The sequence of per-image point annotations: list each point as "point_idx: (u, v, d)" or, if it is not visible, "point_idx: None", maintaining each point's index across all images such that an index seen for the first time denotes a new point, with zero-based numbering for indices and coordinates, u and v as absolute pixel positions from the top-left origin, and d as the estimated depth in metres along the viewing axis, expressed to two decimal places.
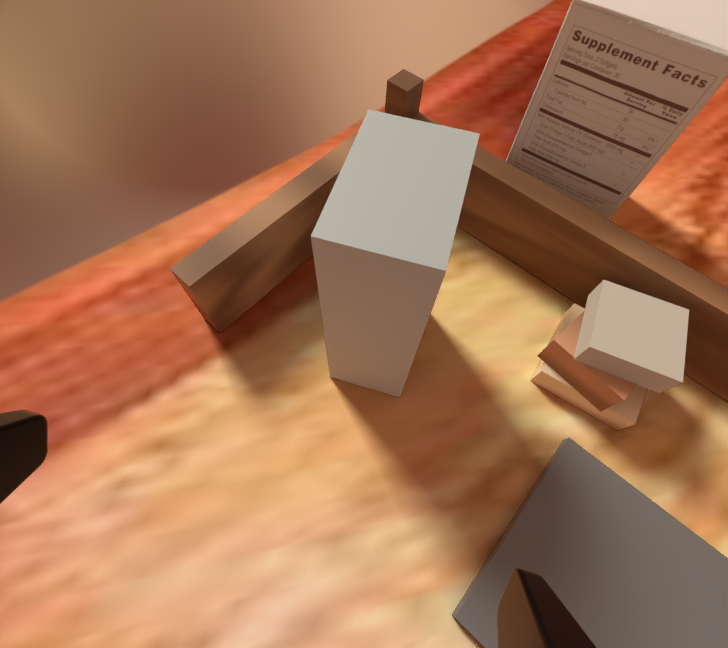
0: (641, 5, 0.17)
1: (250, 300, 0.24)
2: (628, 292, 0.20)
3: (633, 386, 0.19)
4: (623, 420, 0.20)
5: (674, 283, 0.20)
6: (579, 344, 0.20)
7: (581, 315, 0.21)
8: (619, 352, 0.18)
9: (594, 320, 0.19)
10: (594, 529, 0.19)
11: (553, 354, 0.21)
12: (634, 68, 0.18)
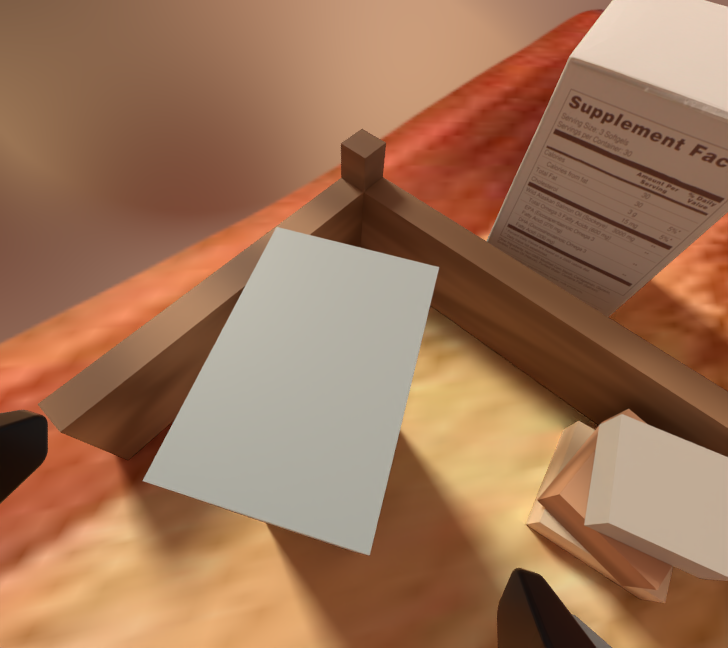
0: (660, 67, 0.13)
1: (169, 416, 0.19)
2: (654, 433, 0.15)
3: (668, 566, 0.14)
4: (648, 594, 0.15)
5: (707, 415, 0.15)
6: (591, 503, 0.15)
7: (593, 454, 0.16)
8: (648, 532, 0.13)
9: (612, 478, 0.14)
10: None
11: (558, 507, 0.16)
12: (651, 146, 0.14)
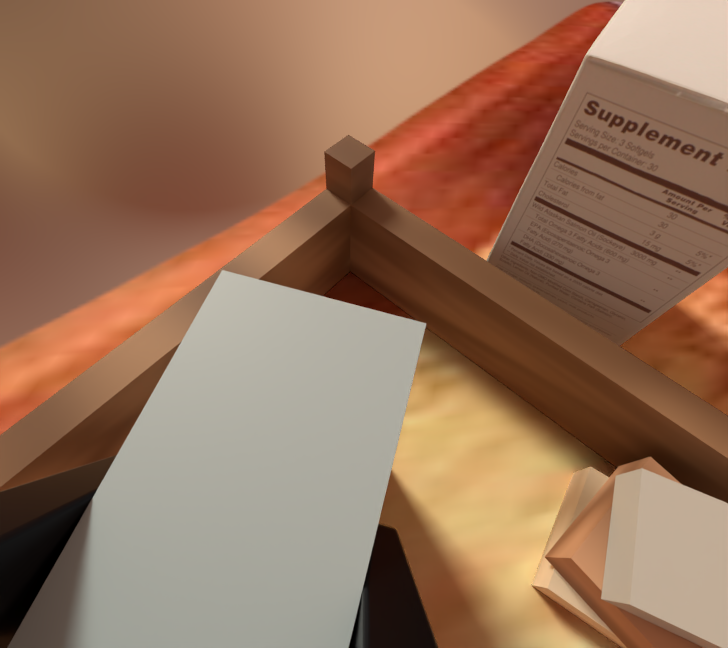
0: (694, 67, 0.11)
1: None
2: (680, 491, 0.13)
3: None
4: None
5: None
6: (609, 573, 0.13)
7: (610, 511, 0.14)
8: (677, 616, 0.11)
9: (633, 547, 0.12)
10: None
11: (569, 570, 0.14)
12: (681, 160, 0.12)
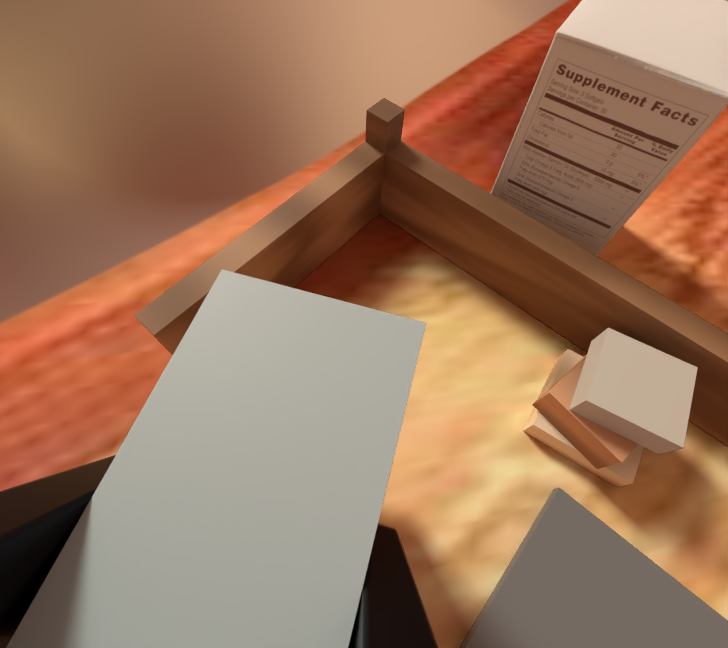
0: (627, 40, 0.16)
1: None
2: (633, 343, 0.18)
3: (632, 447, 0.18)
4: (620, 479, 0.19)
5: (666, 326, 0.19)
6: (576, 393, 0.18)
7: (579, 366, 0.19)
8: (617, 409, 0.17)
9: (594, 371, 0.18)
10: (586, 590, 0.18)
11: (548, 406, 0.19)
12: (621, 104, 0.17)
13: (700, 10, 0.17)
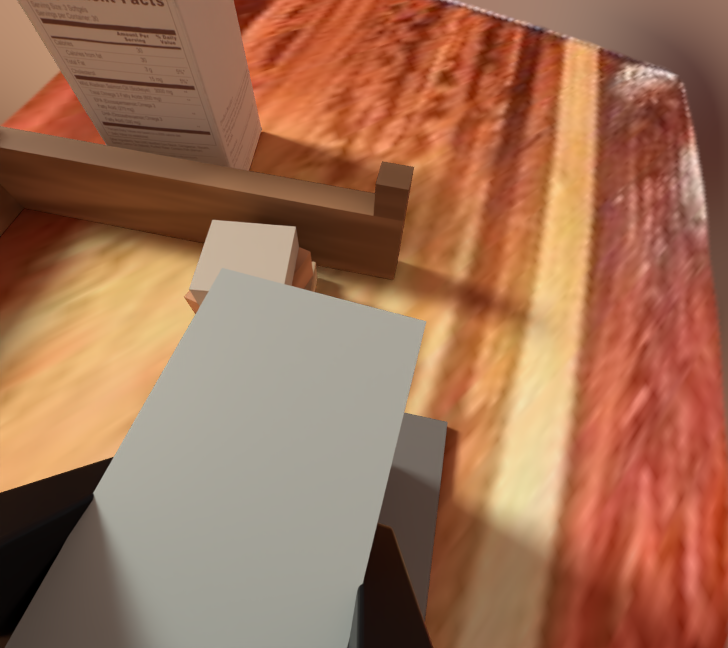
0: None
1: None
2: (236, 225, 0.19)
3: None
4: None
5: (268, 197, 0.20)
6: None
7: None
8: None
9: (199, 262, 0.18)
10: None
11: None
12: (100, 6, 0.17)
13: None
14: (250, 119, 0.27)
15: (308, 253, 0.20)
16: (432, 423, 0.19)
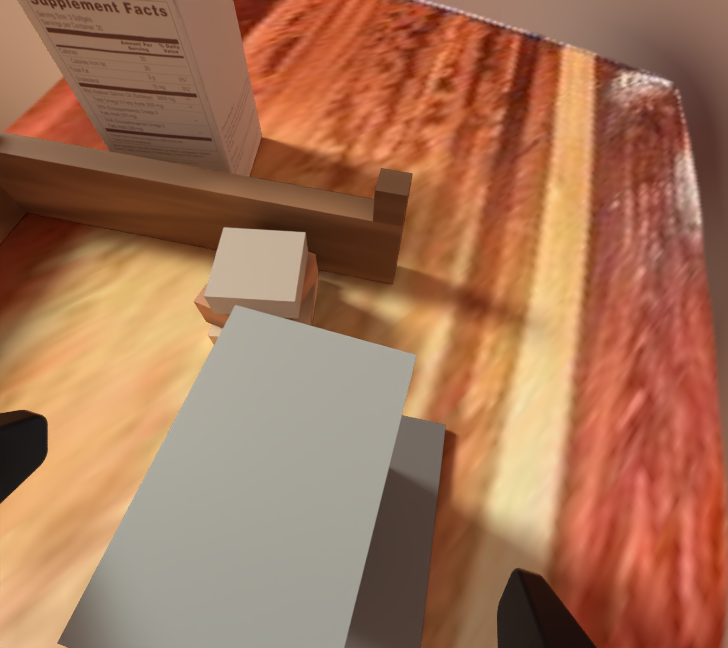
0: None
1: None
2: (247, 232, 0.20)
3: None
4: None
5: (269, 202, 0.20)
6: None
7: None
8: (234, 292, 0.18)
9: (212, 269, 0.19)
10: None
11: (208, 314, 0.20)
12: (104, 16, 0.17)
13: None
14: (251, 125, 0.27)
15: (313, 256, 0.21)
16: (431, 426, 0.20)
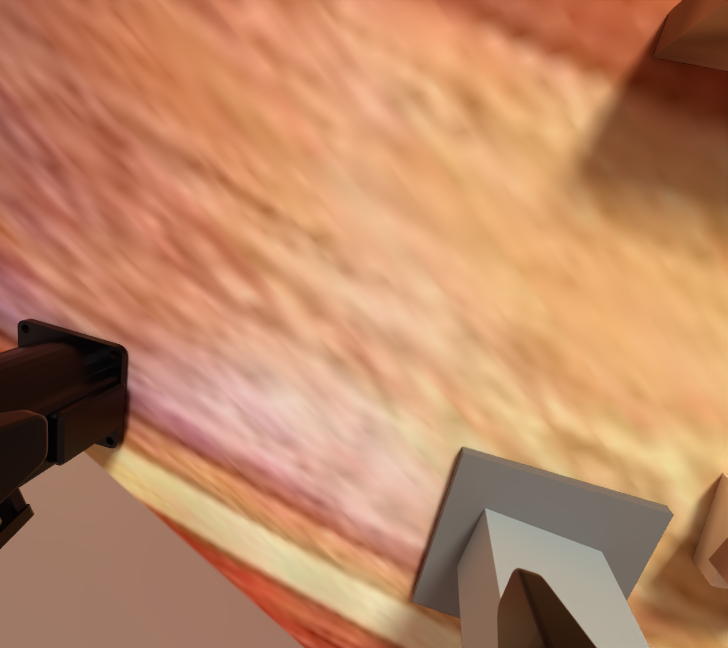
0: None
1: None
2: None
3: None
4: (710, 573, 0.19)
5: None
6: None
7: None
8: None
9: None
10: (585, 543, 0.20)
11: None
12: None
13: None
14: None
15: None
16: None
